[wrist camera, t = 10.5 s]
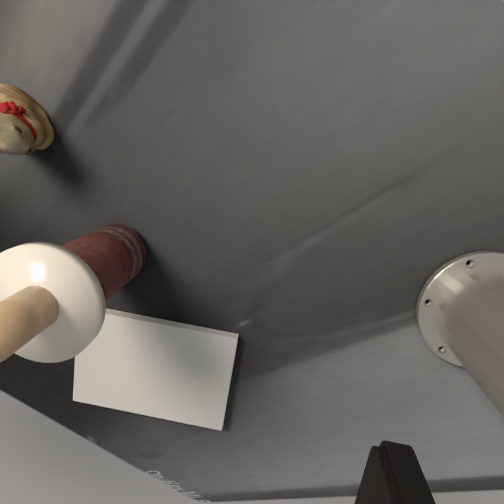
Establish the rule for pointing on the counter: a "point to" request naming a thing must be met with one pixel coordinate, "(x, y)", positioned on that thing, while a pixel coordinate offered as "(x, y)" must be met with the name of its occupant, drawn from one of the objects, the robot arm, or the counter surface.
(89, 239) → the can
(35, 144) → the chocolate bunny
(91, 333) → the lid
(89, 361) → the mat
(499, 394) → the robot arm
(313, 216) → the counter surface
